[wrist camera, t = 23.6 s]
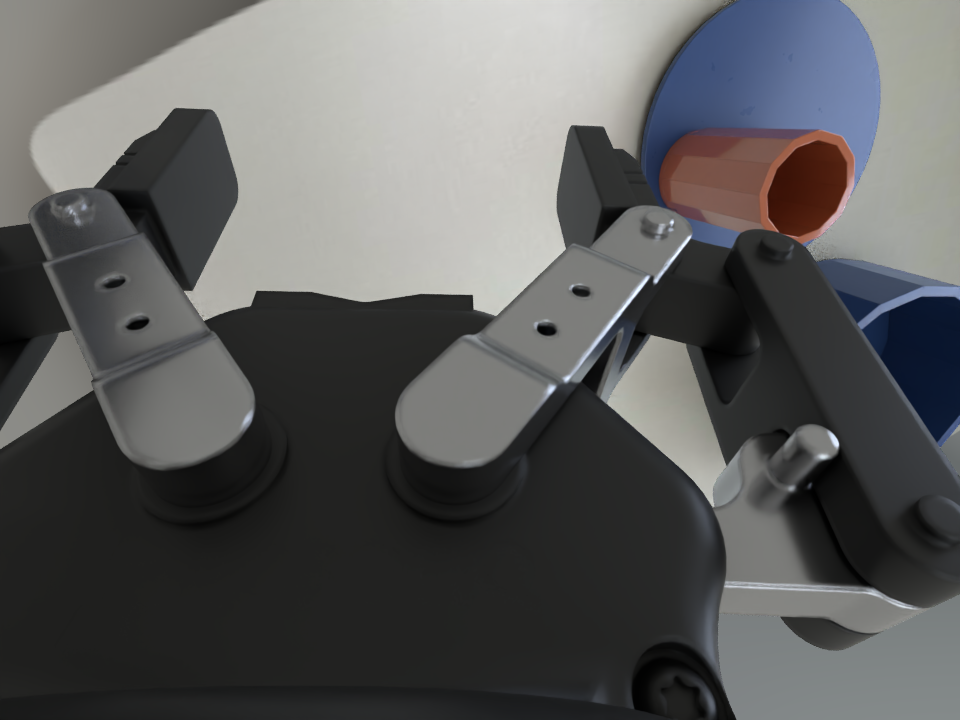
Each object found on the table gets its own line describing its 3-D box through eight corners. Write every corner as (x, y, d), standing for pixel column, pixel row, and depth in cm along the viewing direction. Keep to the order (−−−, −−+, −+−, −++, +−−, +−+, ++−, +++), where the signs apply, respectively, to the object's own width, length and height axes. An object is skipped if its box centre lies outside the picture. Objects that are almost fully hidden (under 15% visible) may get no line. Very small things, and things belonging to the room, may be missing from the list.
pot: (711, 304, 43) (789, 342, 36) (896, 227, 45) (1010, 249, 37) (729, 465, 51) (796, 524, 44) (886, 396, 53) (977, 441, 45)
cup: (652, 145, 36) (756, 153, 27) (729, 116, 36) (856, 115, 27) (664, 227, 38) (762, 260, 29) (735, 200, 39) (853, 223, 30)
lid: (613, 43, 34) (657, 30, 29) (870, -51, 35) (951, -77, 30) (657, 305, 42) (696, 328, 37) (862, 222, 44) (924, 233, 39)
